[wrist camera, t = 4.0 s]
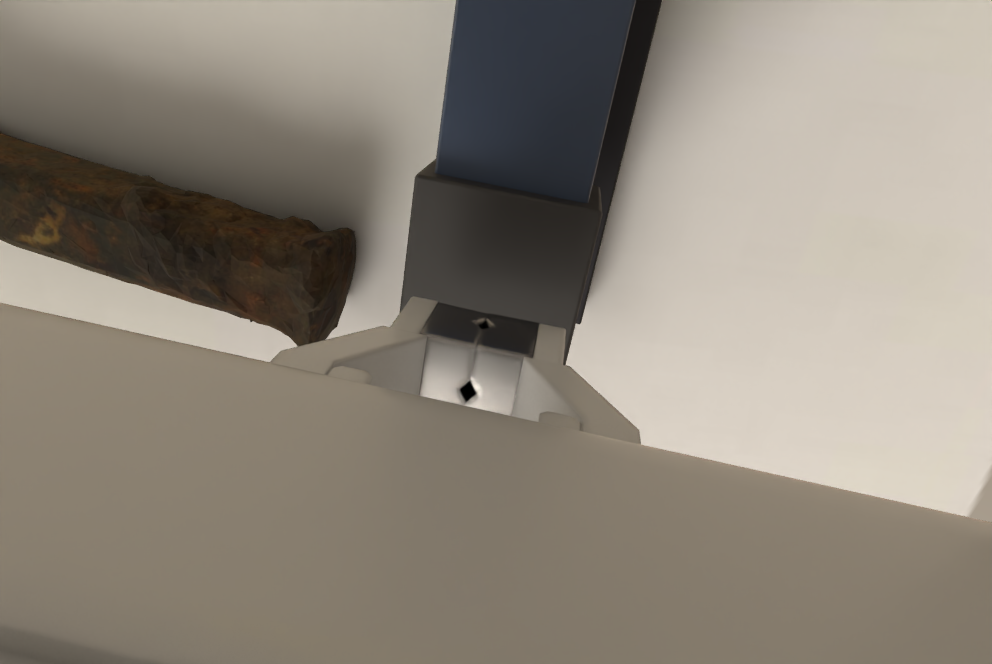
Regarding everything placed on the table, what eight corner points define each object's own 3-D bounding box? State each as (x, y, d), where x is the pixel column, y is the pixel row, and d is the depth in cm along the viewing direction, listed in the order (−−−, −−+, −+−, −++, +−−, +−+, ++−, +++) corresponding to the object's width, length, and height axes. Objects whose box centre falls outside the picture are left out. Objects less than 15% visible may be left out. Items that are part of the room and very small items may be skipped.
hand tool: (376, 220, 22) (325, 264, 17) (350, 322, 23) (298, 384, 19) (-168, 22, 21) (-355, 19, 17) (-153, 141, 23) (-320, 164, 19)
